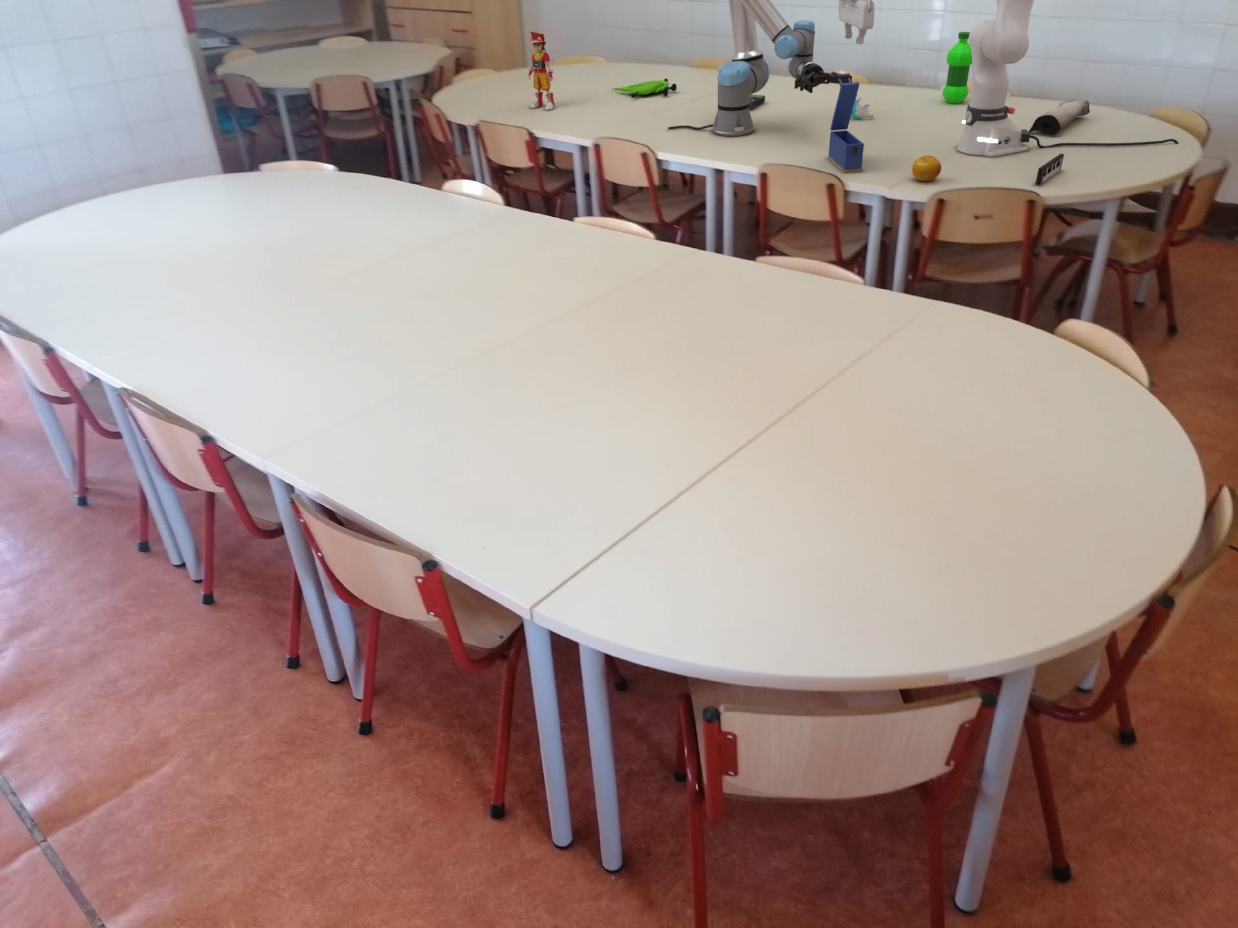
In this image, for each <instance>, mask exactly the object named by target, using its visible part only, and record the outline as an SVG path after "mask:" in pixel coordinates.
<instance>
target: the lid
mask: <svg viewBox="0 0 1238 928" xmlns="http://www.w3.org/2000/svg"><path fill="white" fill-rule="evenodd" d="M850 75H851V73H849V72H847V73H840V74H837V75H836V81H838V82H839V84H838V85H839V87H840V88H839V93H838V96H837V100H836V104H835V107H834V112H833V116H832V120H831V124H830V127H829V129H830V132H833V131H844V130H848V128H849V125H850V122H851V117H852V110H853V107H854V103H855V99H857V97H858V90H859V87H860V82H859V81H852V82H851V80H850ZM841 80H848V83H842V81H841ZM856 96H857V97H856Z"/></svg>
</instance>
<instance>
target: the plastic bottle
mask: <svg viewBox="0 0 1238 928" xmlns="http://www.w3.org/2000/svg"><path fill="white" fill-rule="evenodd" d="M970 32H971V31H959V32H958V36H957V39H958V42H957V43H956V44H954V45H953V46H952V47H951V48H950V49H949V50H948V52H947V54H946V63H947V64H948V69H947V70H948V71H947V76H946V77H947V78H946V84H945V85H944V87H943V90H942V97H943V99H944V100H945V101H946V102H947V103H948V104H960V103H961V102H963V101H964V100H966V98H967V96H968V95H969V85H968V79H969V73H970V67H971V65H972V51H971V47H970V45H969V34H970Z"/></svg>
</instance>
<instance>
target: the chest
mask: <svg viewBox="0 0 1238 928" xmlns="http://www.w3.org/2000/svg"><path fill="white" fill-rule="evenodd" d="M864 148H865V143H864V142H863V141H861V140H860V139H859V138H857V137H856V136H855V135H853V134H852V133H851V132H850V131H848V129H845V130H834V131H830V132H829V145H828V156H827V157H828V159H829V161H830V162H831V163H832V164H834V166H836V167H837V168H838V169H839V170H841V172H843V173H844V174H848V173H857V172H858V173H860V172H862V167H863V157H864Z"/></svg>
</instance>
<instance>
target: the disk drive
mask: <svg viewBox="0 0 1238 928" xmlns="http://www.w3.org/2000/svg"><path fill="white" fill-rule="evenodd" d="M765 102H766V95H761V94H751V95H750V97H749V111H750V110H752V109H755V108H757V107H758V106H760V105H762V104H763V103H765Z"/></svg>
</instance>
